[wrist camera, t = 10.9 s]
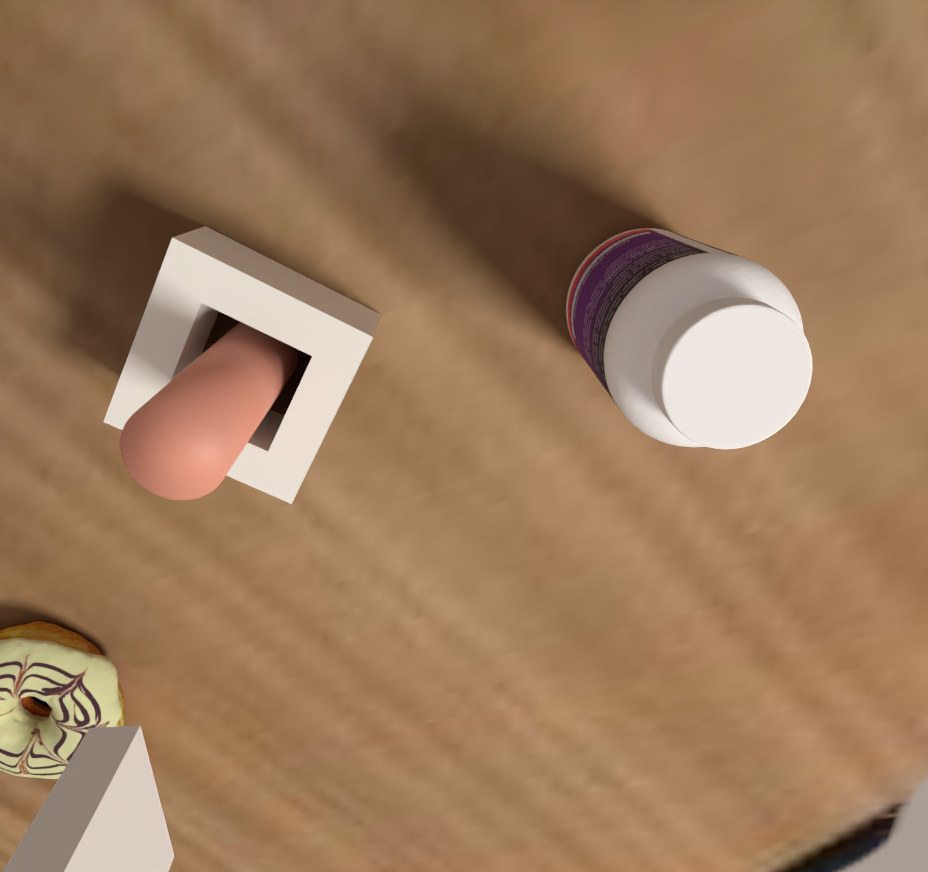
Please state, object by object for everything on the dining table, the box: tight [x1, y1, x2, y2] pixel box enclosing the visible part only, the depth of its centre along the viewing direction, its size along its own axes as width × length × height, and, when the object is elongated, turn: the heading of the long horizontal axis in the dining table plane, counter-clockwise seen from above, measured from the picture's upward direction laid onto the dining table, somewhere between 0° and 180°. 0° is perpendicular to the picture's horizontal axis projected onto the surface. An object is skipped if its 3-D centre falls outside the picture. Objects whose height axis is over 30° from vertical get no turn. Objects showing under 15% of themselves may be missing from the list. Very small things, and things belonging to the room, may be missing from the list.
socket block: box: [104, 226, 381, 504], centre depth 38 cm, size 10×10×5 cm
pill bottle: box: [566, 228, 812, 449], centre depth 33 cm, size 8×8×14 cm
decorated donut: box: [0, 621, 125, 779], centre depth 47 cm, size 10×11×4 cm
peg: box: [120, 322, 298, 500], centre depth 34 cm, size 4×4×14 cm
